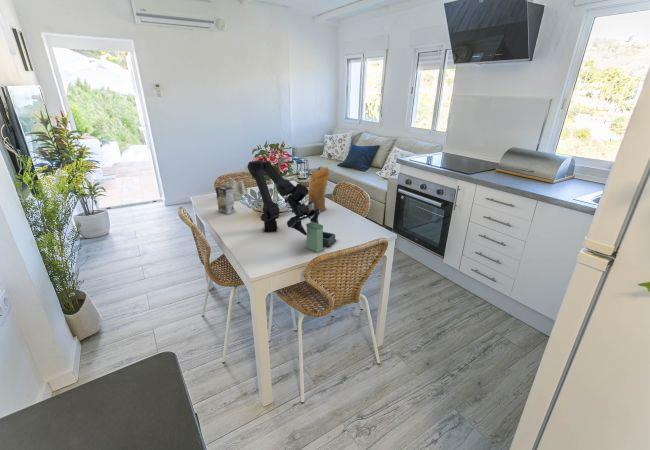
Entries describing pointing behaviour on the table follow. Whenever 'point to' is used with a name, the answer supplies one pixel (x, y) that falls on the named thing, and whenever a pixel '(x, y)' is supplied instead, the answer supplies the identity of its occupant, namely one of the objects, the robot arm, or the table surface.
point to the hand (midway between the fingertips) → (312, 232)
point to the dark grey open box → (328, 239)
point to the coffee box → (225, 199)
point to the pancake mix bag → (318, 188)
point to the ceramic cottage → (238, 189)
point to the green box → (314, 236)
